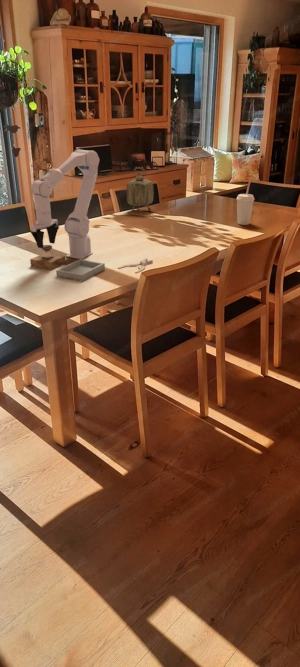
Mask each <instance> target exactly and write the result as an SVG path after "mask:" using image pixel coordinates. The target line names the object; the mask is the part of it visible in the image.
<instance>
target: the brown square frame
mask: <svg viewBox="0 0 300 667" xmlns="http://www.w3.org/2000/svg"><path fill="white" fill-rule="evenodd" d="M64 264H66V255H65V256H64V255H60V254H53V253H51V259H49V260H46V259H44V253H42V254H40V255H37V256H35V257H31V258H30V267H32V268H38V269H44V270H50V271H51V270H53V269H55V268H58V267H60V266H63V265H64Z"/></svg>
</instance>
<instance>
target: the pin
mask: <svg viewBox="0 0 300 667" xmlns="http://www.w3.org/2000/svg"><path fill="white" fill-rule="evenodd" d="M40 249H41V250H42V252H43V253H42V254H44V259H46V260H49V259H51V254H52V252H51V251H52V250H53V245H50V244H45V245H44V244H43V248H40Z"/></svg>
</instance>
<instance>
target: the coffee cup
mask: <svg viewBox="0 0 300 667" xmlns="http://www.w3.org/2000/svg"><path fill="white" fill-rule="evenodd" d="M255 200H256V199H255V197H254V194H250V193H240V194H238V195H237V197H236V207H237V208H236V211H237V212H236V213H237V214H236V215H237V217H236V218H237V219H236V220H237V224H238V225H241V226H242V225H243V226H244V225H247V226H248V225H249V224H250V222H251V217H252V211H253V206H254V201H255Z"/></svg>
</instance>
